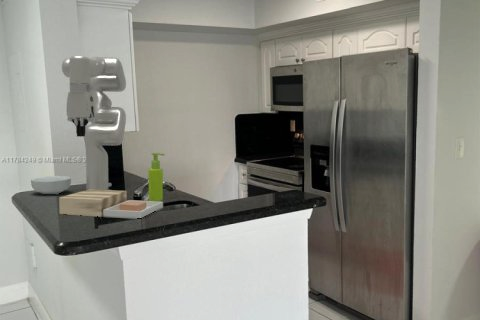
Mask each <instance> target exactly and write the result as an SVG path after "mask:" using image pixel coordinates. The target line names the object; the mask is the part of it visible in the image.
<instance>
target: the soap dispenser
mask: <svg viewBox="0 0 480 320" xmlns="http://www.w3.org/2000/svg"><path fill="white" fill-rule="evenodd" d="M158 155H160V156H165V155H166V154H165V153H163V152H153V153H151V156H153V159H152V160H151V168H149V169H148V201H157V202H163V200H164V197H163V196H164V191H163V190H164V188H163V185H164V184H163V183H164V178H163V177H164V176H163V175H164V174H163V171H164V170H163V168H161V167H160V165H161V164H160V163H161V162H160V160H158V159H159V158H158Z"/></svg>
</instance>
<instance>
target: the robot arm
mask: <svg viewBox="0 0 480 320" xmlns="http://www.w3.org/2000/svg"><path fill="white" fill-rule="evenodd" d="M61 70H62V71H61V72H62V73H63V75H64V76H65V77H67V78H69V92H68V94H67V98H66V116H67V119H66V120H67V121H68V122H72V123H73V124H74V126H75V127H76V128H75V129H76V130H75V131H76V137H81V138H82V137H83V141H84V142H83V143H84V148H85V173H86V174H85V180H86V181H85V182H86V185H85V187H86V190H89V189H93V190H109V188H110V187H112V183H111V182H109V156H108V152H107V151H106V149H105V148H104V147H103V146H120V145H122V143H123V141H124V138H125V132H126V131H125V130H126V122H127V121H126V120H127V115H126V111H125V109H124V108H122V107H119V106H112V100H111V98H109V96H108V95H107V94H105V93H106V92H107V93H108V92H109V93H110V92H113V93H115V92H116V93H117V92H123V91H125V90H126V86H127V80H126V76H125V71H124V67H123V63H122V61H120V59H119V58H118V57H115V56H114V57H112V56H111V57H109V56H108V57H107V56H83V55H72V56H70V57H69V58H68V57H66V58H65V59H64V60H63V61H62V63H61ZM89 123H90V124H89Z"/></svg>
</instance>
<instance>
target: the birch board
mask: <svg viewBox="0 0 480 320" xmlns="http://www.w3.org/2000/svg"><path fill="white" fill-rule="evenodd" d="M127 191H128V190H111V189H108V190H93V189H89V190H82V191H78V192H75V193H71V194H68V195H67V194H66V195H64V196H60V197H58V199H59V200H58V201H59V202H58V203H59V205H58V207H59V209H58V210H59V215H63V214H67V215H66V216H80V215H82V216H83V217H97V216H98V217H100V218H101V217H104V216H103V210H104V209H107V208H110V207H112V206H115V205H117V204H120V203H123V202H125V201H128V200H127V199H128V198H127V197H128V195H127V193H128V192H127ZM98 217H97V218H98Z"/></svg>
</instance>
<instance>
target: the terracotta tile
mask: <svg viewBox="0 0 480 320" xmlns="http://www.w3.org/2000/svg"><path fill="white" fill-rule="evenodd" d="M127 201H128V200H127ZM144 209H146V202H136V201H128V202H125V203H122V204H120V210H124V211H142V210H144Z"/></svg>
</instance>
